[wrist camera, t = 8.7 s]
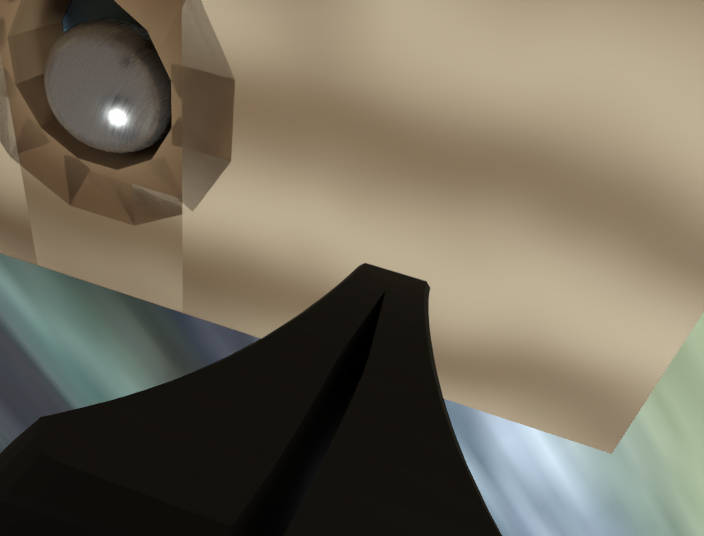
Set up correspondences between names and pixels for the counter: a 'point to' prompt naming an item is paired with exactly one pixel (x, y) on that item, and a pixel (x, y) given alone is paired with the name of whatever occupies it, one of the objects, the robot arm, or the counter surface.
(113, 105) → the ball
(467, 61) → the deck
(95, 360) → the counter surface
